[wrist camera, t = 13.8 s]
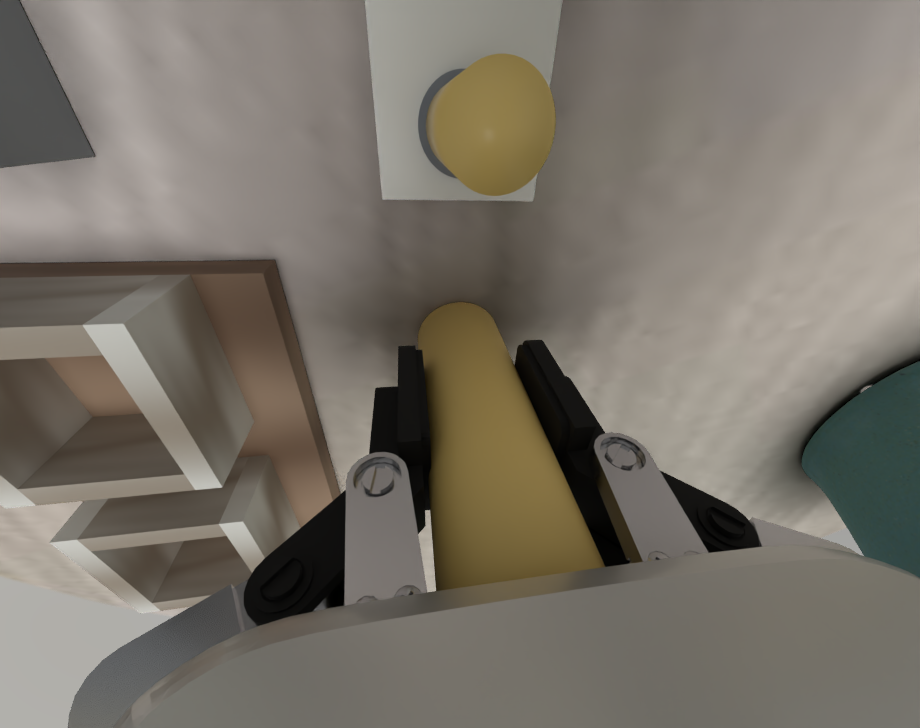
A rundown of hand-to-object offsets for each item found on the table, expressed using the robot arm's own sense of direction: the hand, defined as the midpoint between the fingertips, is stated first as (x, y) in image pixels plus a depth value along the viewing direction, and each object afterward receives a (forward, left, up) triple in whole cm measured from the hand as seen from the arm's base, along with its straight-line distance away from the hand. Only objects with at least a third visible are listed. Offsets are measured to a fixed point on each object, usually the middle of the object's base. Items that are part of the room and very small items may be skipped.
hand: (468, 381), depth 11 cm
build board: (+4, -11, -3) cm, 12 cm away
